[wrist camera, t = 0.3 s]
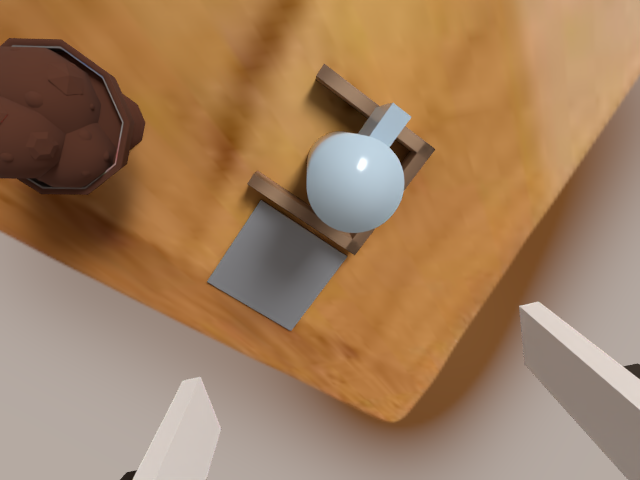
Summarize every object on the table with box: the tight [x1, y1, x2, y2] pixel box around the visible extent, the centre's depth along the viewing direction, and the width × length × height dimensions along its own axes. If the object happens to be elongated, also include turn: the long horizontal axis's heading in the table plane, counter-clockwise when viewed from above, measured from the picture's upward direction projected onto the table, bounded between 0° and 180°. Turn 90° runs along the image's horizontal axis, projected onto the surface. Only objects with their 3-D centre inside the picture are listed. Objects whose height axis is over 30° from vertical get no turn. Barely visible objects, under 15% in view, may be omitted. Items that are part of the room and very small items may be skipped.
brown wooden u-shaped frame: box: [248, 64, 435, 255], centre depth 36 cm, size 13×13×2 cm
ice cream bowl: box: [0, 38, 145, 195], centre depth 28 cm, size 11×11×15 cm
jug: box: [307, 103, 411, 233], centre depth 30 cm, size 6×9×14 cm
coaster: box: [207, 200, 347, 331], centre depth 40 cm, size 11×11×1 cm
